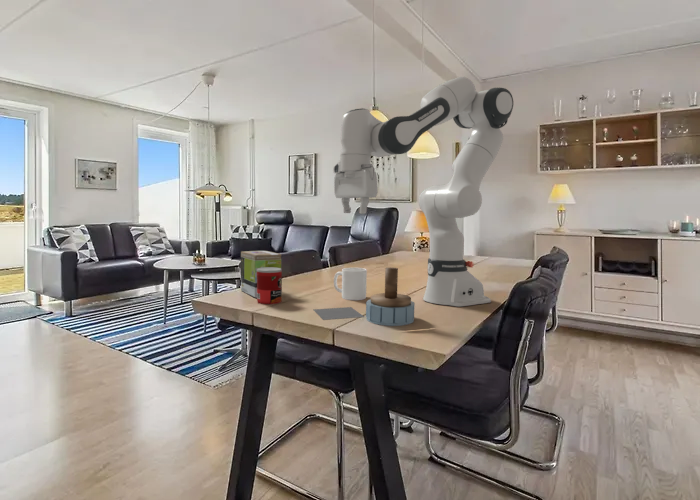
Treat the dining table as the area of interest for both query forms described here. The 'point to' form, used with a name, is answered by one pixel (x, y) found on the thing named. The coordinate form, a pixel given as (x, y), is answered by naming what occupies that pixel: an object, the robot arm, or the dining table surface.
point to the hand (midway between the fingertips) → (354, 213)
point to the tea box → (250, 266)
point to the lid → (391, 292)
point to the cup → (352, 283)
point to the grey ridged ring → (390, 314)
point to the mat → (337, 313)
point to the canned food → (269, 285)
